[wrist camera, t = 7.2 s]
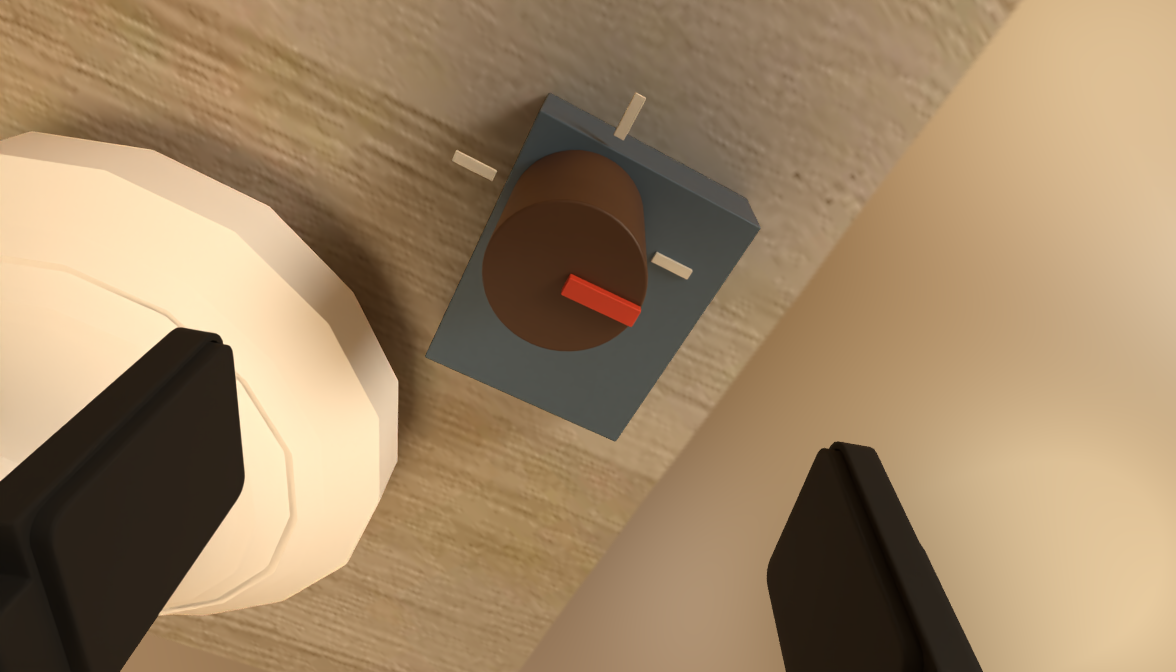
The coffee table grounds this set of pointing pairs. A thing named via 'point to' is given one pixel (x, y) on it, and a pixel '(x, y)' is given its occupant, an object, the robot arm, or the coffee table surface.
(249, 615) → the coffee table surface
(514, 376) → the panel
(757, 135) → the coffee table surface
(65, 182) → the white vase
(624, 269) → the knob
